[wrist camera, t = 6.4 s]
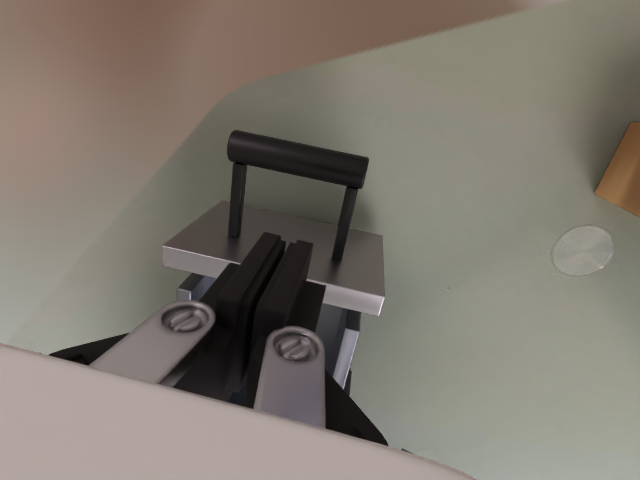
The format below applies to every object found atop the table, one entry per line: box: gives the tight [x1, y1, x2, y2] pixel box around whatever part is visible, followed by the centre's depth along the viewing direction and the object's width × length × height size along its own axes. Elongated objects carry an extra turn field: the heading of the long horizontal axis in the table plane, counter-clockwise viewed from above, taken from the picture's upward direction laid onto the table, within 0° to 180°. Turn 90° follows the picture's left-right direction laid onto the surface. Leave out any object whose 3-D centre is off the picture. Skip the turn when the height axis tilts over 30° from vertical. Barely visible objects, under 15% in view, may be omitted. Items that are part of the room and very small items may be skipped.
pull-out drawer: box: [162, 130, 385, 407], centre depth 23 cm, size 20×11×8 cm, turn 170°
